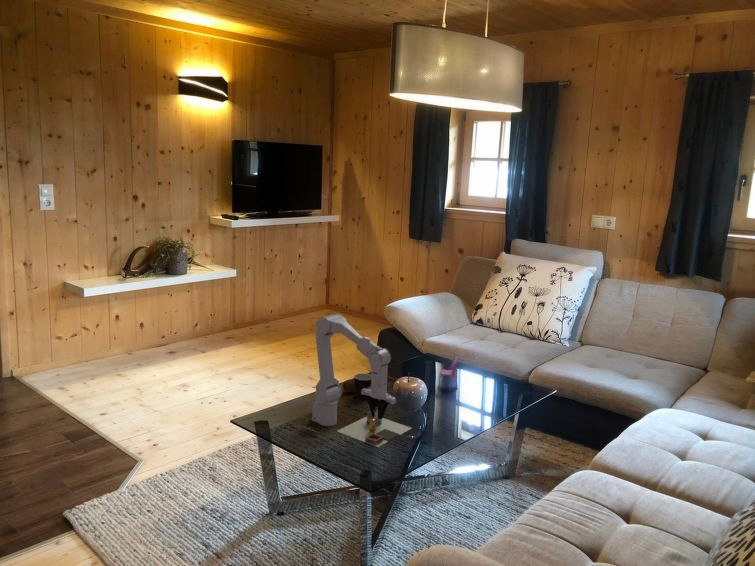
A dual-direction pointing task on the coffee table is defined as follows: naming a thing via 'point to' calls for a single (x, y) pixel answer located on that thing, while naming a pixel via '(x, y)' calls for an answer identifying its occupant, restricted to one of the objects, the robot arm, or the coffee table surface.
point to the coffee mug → (362, 384)
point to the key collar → (375, 442)
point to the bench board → (362, 430)
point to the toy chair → (449, 371)
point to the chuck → (371, 417)
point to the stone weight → (349, 386)
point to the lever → (372, 425)
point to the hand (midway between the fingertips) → (377, 417)
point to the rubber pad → (387, 434)
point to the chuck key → (376, 416)
